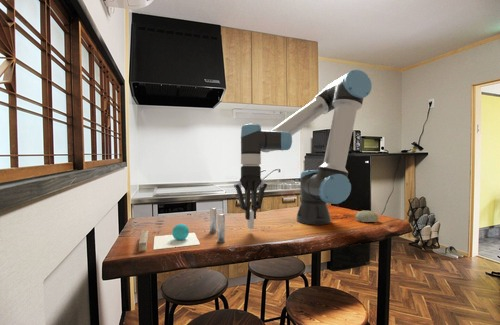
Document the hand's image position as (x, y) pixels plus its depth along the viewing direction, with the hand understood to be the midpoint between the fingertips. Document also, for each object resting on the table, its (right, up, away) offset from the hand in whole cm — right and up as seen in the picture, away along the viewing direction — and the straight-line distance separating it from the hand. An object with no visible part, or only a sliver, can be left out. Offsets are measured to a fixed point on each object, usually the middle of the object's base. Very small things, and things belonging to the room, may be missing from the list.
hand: (250, 227), depth 91 cm
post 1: (-14, -2, +1) cm, 15 cm away
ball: (-24, +1, -9) cm, 26 cm away
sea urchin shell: (+53, -3, +19) cm, 57 cm away
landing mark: (-25, -2, -9) cm, 27 cm away
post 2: (-10, -2, -10) cm, 14 cm away
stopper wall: (-35, -2, -13) cm, 37 cm away
